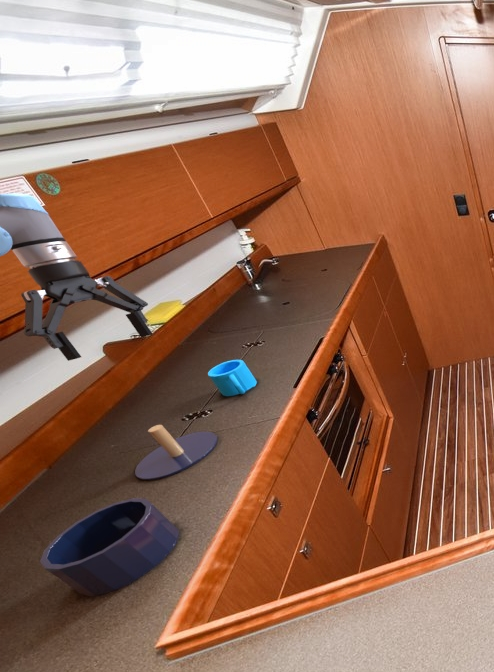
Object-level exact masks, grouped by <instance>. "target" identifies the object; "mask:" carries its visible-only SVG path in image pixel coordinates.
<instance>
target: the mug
mask: <svg viewBox="0 0 494 672" xmlns="http://www.w3.org/2000/svg"><path fill="white" fill-rule="evenodd" d="M207 376H208V377H209V378H210V380H211V381H212V383H213V384H214V385H215V387H216V388H217V389H218V391H219V392H220V393H221V395H222V396H224V397H233V396H236V395H237V396H238V395H244V394H245V393H246V392H247V391H249V390H250V389H252V388H255V387H256V385H257V383H258V381H257V380H256V378H255V376H254V375H253V374H252V372H251V370H250V369H249V367H248V366H247V364H246V363H245V361H244V360H243V359H232V360H228V361H224V362H221V363H220V364H217V365H216V366H214V367H212V368H211V369H210V370H209V371H208V372H207Z"/></svg>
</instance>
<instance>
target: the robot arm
mask: <svg viewBox="0 0 494 672" xmlns="http://www.w3.org/2000/svg"><path fill="white" fill-rule="evenodd" d="M10 250H11V251H12V252H13V254H14V255H15V256H16V258H17V259H18V261H19V262H20V263H21V265H22V266H23V267H24V268H29V269H28V271H27V273H28V274H29V275H30V276H31V278H32V279H33V281H34V283H36V284H37V285H38V286H39V287H40V289H39V290H36V289H31V290H27V291H23V292H21V294H20V297H21V298H22V300H23V301H24V303H25V304H24V305H25V306H24V307H25V309H24V332H23V333H24V336H26V337H39V338H41V337H42V338H43V339H44V340H45V341H46V342H47V344H48V345H49V346H50V348H51V349H53V350H55V349H58V350H59V351H60V352H61V354H62V355H63V356H64V358H65V359H66V361H73V360H77V359H80V358H82V355H81V354H80V353H79V351H78V350H77V349H76V348H75V346H74V345H73V343H72V342H71V340H70V339H69V338H68V337H67V336H66V334H65V333H64V332H63V331H58V332H57V329H58V328H59V325H60V323H61V320H62V318H63V316H64V313H65V311H66V308H67V307H68V306H69V305H72V304H76V303H81V302H86V301H90V300H92V301H97V302H100V303H103V304H105V305H108V306H111V307H114V308H115V309H119V310H122V311H124V312H126V314H125V317H126V318H127V319H128V321H129V322H130V323H131V325H132V327H133V328H134V330H135V331H136V332H137V334H138V335H139V336H140V338H145V337H148V336H153V332H152V331H151V329H150V328H149V326H148V325H147V323H148V319H147V318H146V316H145V314H144V313H143V312H142V311H143V310H144V308H145V307H147V306H149V304H148V302H147V301H145V300H144V299H142V298H141V297H139V296H138V295H136V294H134V293H132V292H131V291H129V290H128V289H126V288H124V287H123V286H121V285H120V284H119V283H117V282H116V281H115V280H114V278H112V276H110V275H105V276H102V277H98V278H97V279H93V278H92V277H91V275H90V273H89V271H88V269H87V268H86V266H85V265H84V264H83V262H82V261H80V260H77V259H78V256H77V254H76V253H75V252H74V250H73V248H72V247H71V246H70V244H69V243H68V241H67V240H66V239H65V238H64V236H63V235H62V233H61V231H60V230H59V228H58V227H57V225H56V224H55V222H54V221H53V219H52V217H50V214H49V212H47V210H45V208H44V207H43V206H42V205H41V203H40V202H39V201H38V199H36V197H34V196H32V195H30V194H28V193H27V194H26V193H14V192H13V193H1V194H0V257H3V256H4V255H6V254H8V253H9V252H10ZM98 287H101V288H103V289H104V290H106V291H107V292H106V291H103V290H101V289H98ZM108 292H109V293H111V294H113V295H114V296H113V295H111V294H108ZM45 297H47V298H49V299H51V301H50V303H49V304H48V306H49V309H48V311H47V313H46V315H45V317H44V320H43V307H44V304H43V303H44V302H43V299H44V298H45ZM27 324H29V325H27ZM25 325H26V327H25Z"/></svg>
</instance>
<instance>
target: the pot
mask: <svg viewBox="0 0 494 672" xmlns="http://www.w3.org/2000/svg"><path fill="white" fill-rule="evenodd" d="M179 538H180V531H179V528H178V527H176V525H174V524H173V523H172V522H171V521H170V520H169V519H168V518H167V517H166V516H165V515H164V514H163V513H162V512H161V511H160V510H159V509H158V508H157V507H156V506H155V505H154V504H153V503H152V502H150V501H149V499H147V498H140V497H133V498H129V499H125V500H120V501H116V502H114V503H111V504H109V505H107V506H104V507H101V508H100V509H97V510H95V511H93V512H92V513H90V514H88V515H86V516H84V517H83V518H81V519H79V520H78V521H75V522H74V523H73V524H71V525H70V526H68V528H66V529H65V530H63V531H61V533H59V534H58V535H57V536H55V538H54V539H53V540H52V541H51V542H50V543H49V544H48V546H47V547H46V548H45V549H44V551H43V553H42V555H41V558H40V560H39V563H40V564H41V565H42V567H43V568H44V569H45V570H46V571H47V572H49V573H50V574H52V575H53V576H55V577H56V578H58V579H59V580H60V581H62V582H63V583H65V584H66V585H68V586H69V587H70V588H72V589H74V590H75V591H76V592H78V593H79V594H80V595H83V596H88V597H96V596H101V595H105V594H109V593H113V592H115V591H118V590H120V589H122V588H124V587H126V586H129V584H132V583H134V582H135V581H137V580H139V579H140V578H142V577H143V576H145V575H146V574H148V573H150V571H152V570H153V569H155V568H156V566H158V565H160V563H162V561H164V559H165V558H167V556H169V554H170V553H171V552H172V551H173V550H174V548H175V547H176V545H177V543H178V541H179Z"/></svg>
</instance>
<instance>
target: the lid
mask: <svg viewBox="0 0 494 672" xmlns="http://www.w3.org/2000/svg"><path fill="white" fill-rule="evenodd" d="M147 432H148V433H149V434H150V435H151V437H153V439H154V440H155V441H156V442H157V443H158V445H160V446H158V447H157V448H155V449H154V450H153V451H151V452H150V453H149V454H147V455H146V456H145V457H144V458H142V459H141V460H140V461H139V463H138V464H137V466H136V467H135V470H134V474H135V476H136V477H137V478H138V479H139V480H142V481H154V480H161V479H165V478H168V477H170V476H173V475H176V474H178V473H180V472H182V471H185V470H186V469H189V468H191V467H192V466H194V465H196V464H197V463H199V462H200V461H201V460H203V459H205V458H206V457H207V456H208V455H209V454H210V453H212V451H213V450H214V449H215V447H216V446H217V444H218V440H219V437H218V436H217V434H215V433H214V432H211V431H197V432H191V433H188V434H185V435H181V436H179V437H176V438H174V437H173V436H172V435H171V433H170V432H169V431H168V430H167V429H166V428H165V426H164V425H162V424H156V425H153V426H152V427H150V428H149V429H148V430H147Z"/></svg>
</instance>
